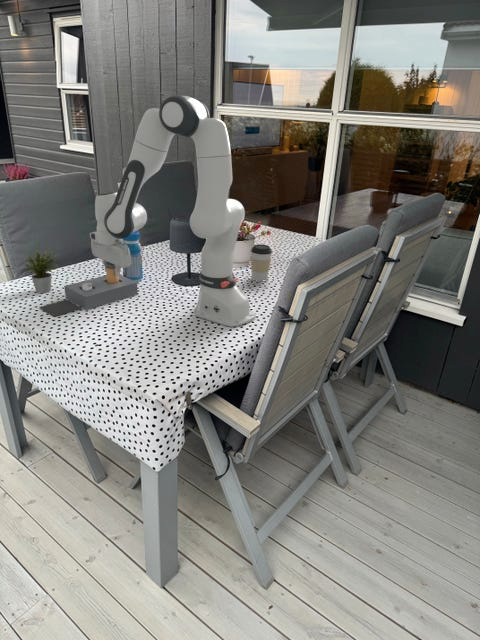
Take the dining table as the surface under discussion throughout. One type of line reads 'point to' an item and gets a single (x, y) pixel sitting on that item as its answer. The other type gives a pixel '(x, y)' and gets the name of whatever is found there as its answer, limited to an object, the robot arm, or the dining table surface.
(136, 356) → the dining table surface
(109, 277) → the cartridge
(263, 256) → the coffee cup
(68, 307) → the mat
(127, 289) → the housing
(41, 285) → the house plant
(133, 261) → the beverage bottle
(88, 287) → the plunger
